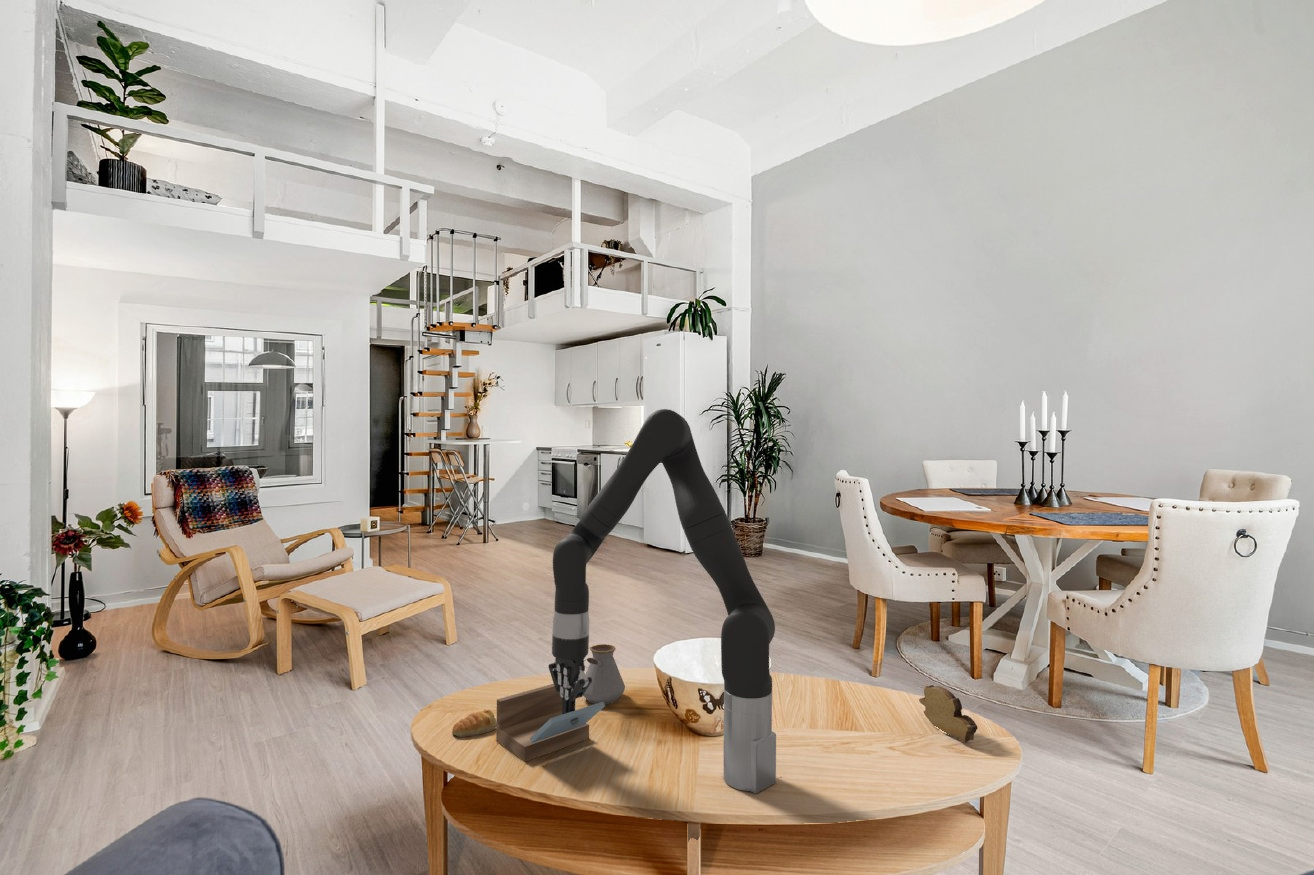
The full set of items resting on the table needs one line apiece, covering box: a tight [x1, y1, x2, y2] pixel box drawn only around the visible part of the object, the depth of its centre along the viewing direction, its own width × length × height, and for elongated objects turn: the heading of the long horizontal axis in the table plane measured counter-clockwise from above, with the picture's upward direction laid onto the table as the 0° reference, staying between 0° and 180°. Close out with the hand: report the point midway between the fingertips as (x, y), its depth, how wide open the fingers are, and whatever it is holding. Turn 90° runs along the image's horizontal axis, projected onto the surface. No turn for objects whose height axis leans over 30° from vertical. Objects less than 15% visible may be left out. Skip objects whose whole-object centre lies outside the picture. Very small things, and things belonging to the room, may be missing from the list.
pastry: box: [451, 708, 497, 738], centre depth 144 cm, size 9×7×4 cm
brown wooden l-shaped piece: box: [495, 683, 590, 762], centre depth 140 cm, size 12×16×9 cm
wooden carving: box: [918, 684, 979, 743], centre depth 145 cm, size 16×5×10 cm, turn 20°
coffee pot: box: [582, 643, 626, 705], centre depth 158 cm, size 21×12×15 cm, turn 171°
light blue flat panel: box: [530, 702, 606, 743], centre depth 132 cm, size 2×13×10 cm
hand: (568, 715), depth 133 cm, fingers closed
